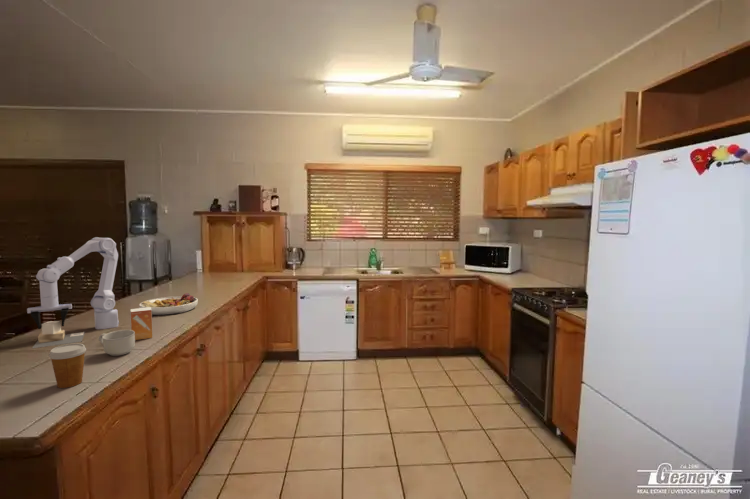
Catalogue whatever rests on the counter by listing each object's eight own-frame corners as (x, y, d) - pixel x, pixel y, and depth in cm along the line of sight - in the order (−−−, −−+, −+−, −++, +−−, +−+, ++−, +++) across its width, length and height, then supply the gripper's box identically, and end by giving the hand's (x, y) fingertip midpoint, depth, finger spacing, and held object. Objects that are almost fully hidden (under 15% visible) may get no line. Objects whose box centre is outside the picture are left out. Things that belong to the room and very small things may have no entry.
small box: (131, 341, 167) (130, 311, 166) (131, 337, 172) (130, 308, 171) (153, 338, 171) (151, 309, 170) (152, 334, 176) (150, 306, 175)
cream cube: (61, 331, 168) (60, 321, 167) (53, 334, 163) (52, 323, 163) (50, 331, 167) (49, 321, 167) (42, 334, 163) (41, 324, 162)
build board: (85, 333, 176) (85, 331, 176) (81, 343, 163) (81, 341, 163) (39, 339, 168) (39, 337, 168) (32, 350, 154) (31, 348, 154)
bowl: (166, 318, 204) (166, 304, 203) (127, 313, 215) (126, 299, 214) (209, 306, 232) (208, 294, 231) (172, 302, 243) (172, 290, 242)
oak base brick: (65, 336, 170) (64, 329, 170) (63, 339, 165) (62, 333, 165) (41, 339, 166) (41, 332, 166) (38, 343, 161) (38, 336, 161)
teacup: (142, 350, 155) (141, 331, 155) (116, 359, 145) (115, 339, 144) (117, 346, 160) (116, 327, 159) (90, 355, 150) (89, 335, 149)
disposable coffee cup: (64, 378, 128) (62, 343, 127) (94, 377, 129) (92, 342, 128) (42, 390, 119) (40, 353, 118) (75, 390, 120) (73, 352, 119)
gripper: (71, 292, 171) (73, 322, 172) (28, 296, 163) (30, 327, 164) (70, 295, 165) (72, 326, 167) (25, 299, 157) (27, 331, 158)
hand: (51, 327), depth 165 cm, fingers open, 7 cm apart
